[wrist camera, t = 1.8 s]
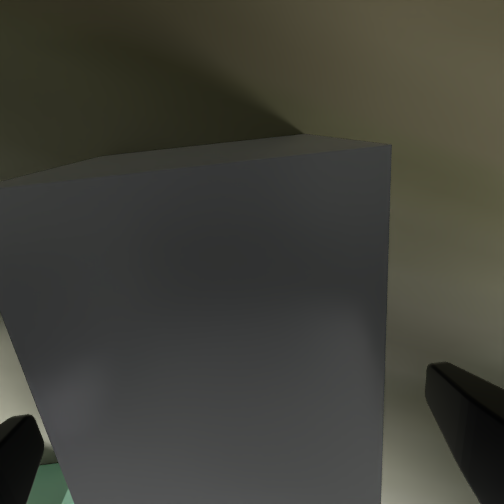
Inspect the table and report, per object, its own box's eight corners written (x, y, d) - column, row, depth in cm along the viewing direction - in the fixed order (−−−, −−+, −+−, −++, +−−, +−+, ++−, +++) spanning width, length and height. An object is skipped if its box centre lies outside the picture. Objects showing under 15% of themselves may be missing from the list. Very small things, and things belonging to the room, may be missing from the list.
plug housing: (304, 133, 9) (392, 143, 4) (320, 461, 13) (376, 663, 8) (101, 155, 9) (-47, 192, 4) (178, 480, 12) (149, 696, 8)
